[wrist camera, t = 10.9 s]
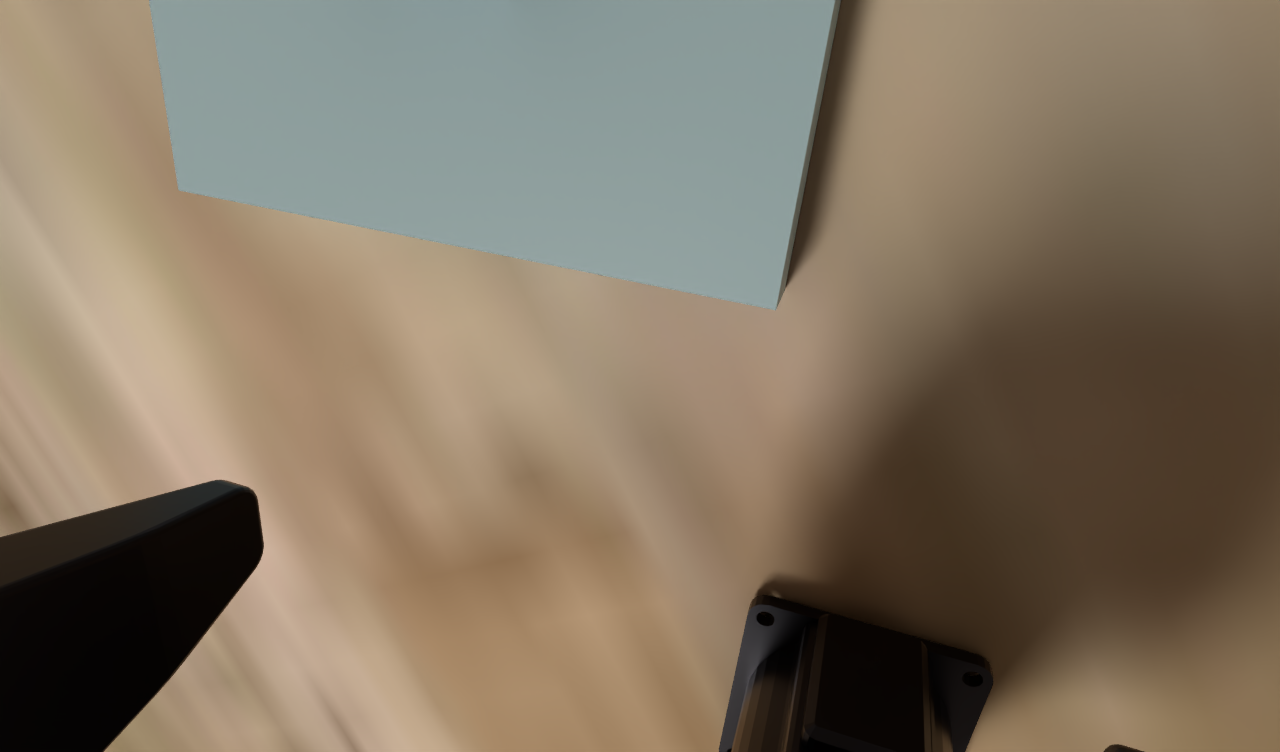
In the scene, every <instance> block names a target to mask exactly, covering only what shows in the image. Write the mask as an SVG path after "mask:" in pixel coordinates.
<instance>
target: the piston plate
mask: <svg viewBox="0 0 1280 752" xmlns="http://www.w3.org/2000/svg"><path fill="white" fill-rule="evenodd" d="M149 3H150V10H151V16H152V23H153V29H154V35H155V42H156V48H157V55H158V61H159V68H160V74H161V80H162V87H163V93H164V100H165V106H166V112H167V119H168V125H169V132H170V138H171V145H172V151H173V157H174V164H175V170H176V177H177V183H178V190H179V191H184V192H189V193H194V194H199V195H204V196H209V197H214V198H219V199H224V200H229V201H234V202H239V203H244V204H249V205H254V206H259V207H264V208H269V209H274V210H279V211H284V212H289V213H294V214H299V215H304V216H309V217H314V218H319V219H324V220H329V221H334V222H339V223H344V224H349V225H354V226H359V227H364V228H369V229H374V230H379V231H384V232H389V233H394V234H399V235H404V236H409V237H414V238H419V239H424V240H429V241H434V242H439V243H444V244H449V245H453V246H458V247H463V248H468V249H473V250H478V251H483V252H488V253H493V254H498V255H503V256H508V257H513V258H518V259H523V260H528V261H533V262H538V263H543V264H548V265H553V266H558V267H563V268H568V269H573V270H578V271H583V272H588V273H593V274H598V275H603V276H608V277H613V278H618V279H623V280H628V281H633V282H638V283H643V284H648V285H653V286H658V287H663V288H668V289H673V290H678V291H683V292H688V293H693V294H698V295H703V296H708V297H713V298H718V299H723V300H728V301H733V302H737V303H742V304H747V305H752V306H757V307H762V308H767V309H772V310H776V308H777V306H778V304H779V302H780V300H781V297H782V295H783V293H784V291H785V286H786V281H787V276H788V271H789V266H790V260H791V255H792V250H793V245H794V240H795V235H796V230H797V225H798V219H799V214H800V209H801V204H802V199H803V194H804V189H805V183H806V178H807V173H808V168H809V163H810V158H811V153H812V147H813V142H814V137H815V132H816V127H817V122H818V117H819V111H820V106H821V101H822V96H823V91H824V86H825V81H826V75H827V70H828V65H829V60H830V55H831V50H832V45H833V39H834V34H835V29H836V24H837V19H838V14H839V9H840V3H841V0H149Z"/></svg>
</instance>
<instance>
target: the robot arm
mask: <svg viewBox="0 0 1280 752" xmlns="http://www.w3.org/2000/svg"><path fill="white" fill-rule="evenodd" d="M263 548H264V542H263V535H262V527H261V520H260V512H259V505H258V499H257V496H256V494H255V493H254V491H253V490H252V489H250V488H249V487H246V486H243V485H239V484H236V483H233V482H229V481H225V480H214V481H210V482H206V483H202V484H199V485H195V486H191V487H187V488H184V489H180V490H176V491H172V492H169V493H165V494H161V495H157V496H154V497H150V498H146V499H142V500H139V501H135V502H131V503H127V504H123V505H120V506H116V507H112V508H108V509H105V510H101V511H97V512H93V513H90V514H86V515H82V516H78V517H75V518H71V519H67V520H63V521H60V522H56V523H52V524H48V525H44V526H41V527H37V528H33V529H29V530H26V531H22V532H18V533H14V534H11V535H7V536H3V537H0V752H104V751H105V750H106V749H107V748H108V746H109V745H110V744H111V743H112V742H113V741H114V740H115V739H116V738H117V737H118V736H119V735H120V733H121V732H122V731H123V730H124V729H125V728H126V727H127V726H128V725H129V724H130V723H131V721H132V720H133V719H134V718H135V717H136V716H137V715H138V714H139V713H140V712H141V711H142V710H143V708H144V707H145V706H146V705H147V704H148V703H149V702H150V701H151V700H152V699H153V698H154V696H155V695H156V694H157V693H158V692H159V691H160V690H161V688H162V687H163V686H164V685H165V684H166V683H167V682H168V681H169V679H170V678H171V677H172V676H173V675H174V673H175V672H176V671H177V670H178V668H179V667H180V666H181V665H182V663H183V662H184V661H185V660H186V658H187V657H188V656H189V655H190V653H191V652H192V651H193V649H194V648H195V647H196V645H197V644H198V643H199V642H200V640H201V639H202V638H203V636H204V635H205V634H206V632H207V631H208V630H209V629H210V627H211V626H212V625H213V623H214V622H215V621H216V619H217V618H218V617H219V616H220V614H221V613H222V612H223V610H224V609H225V608H226V606H227V605H228V604H229V602H230V601H231V600H232V599H233V597H234V596H235V595H236V593H237V592H238V591H239V589H240V588H241V587H242V586H243V584H244V583H245V582H246V580H247V579H248V578H249V576H250V575H251V574H252V573H253V571H254V570H255V569H256V567H257V566H258V564H259V562H260V560H261V557H262V554H263ZM760 612H768V613H770V614H772V615H773V616H772V617H766V616H764V615H762V614H761V613H760ZM967 672H976V673H978V675H975V676H970V675H967V674H965V673H967ZM992 685H993V673H992V668H991V665H990V663H989V662H988V661H987V660H986V659H985V658H984V657H982V656H979V655H977V654H974V653H970V652H967V651H963V650H960V649H956V648H953V647H949V646H946V645H942V644H938V643H935V642H931V641H928V640H924V639H921V638H917V637H914V636H910V635H907V634H903V633H900V632H896V631H893V630H889V629H886V628H882V627H879V626H875V625H871V624H868V623H864V622H861V621H857V620H854V619H850V618H847V617H843V616H840V615H836V614H833V613H829V612H826V611H822V610H819V609H815V608H812V607H808V606H804V605H801V604H797V603H794V602H790V601H787V600H783V599H780V598H776V597H773V596H767V595H762V596H757V597H756V598H755V599H753V600H752V602H751V604H750V607H749V611H748V615H747V620H746V625H745V629H744V634H743V639H742V643H741V648H740V653H739V657H738V662H737V667H736V671H735V676H734V681H733V686H732V690H731V695H730V700H729V704H728V709H727V714H726V718H725V723H724V728H723V732H722V737H721V742H720V746H719V752H965V750H966V748H967V746H968V743H969V741H970V738H971V736H972V734H973V731H974V729H975V726H976V724H977V722H978V719H979V717H980V714H981V712H982V709H983V707H984V705H985V702H986V700H987V697H988V695H989V693H990V690H991V688H992ZM1104 752H1144V751H1140V750H1137V749H1134V748H1130V747H1127V746H1123V745H1119V744H1115V745H1110V746H1109V747H1108V748H1106V749H1105V751H1104Z"/></svg>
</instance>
